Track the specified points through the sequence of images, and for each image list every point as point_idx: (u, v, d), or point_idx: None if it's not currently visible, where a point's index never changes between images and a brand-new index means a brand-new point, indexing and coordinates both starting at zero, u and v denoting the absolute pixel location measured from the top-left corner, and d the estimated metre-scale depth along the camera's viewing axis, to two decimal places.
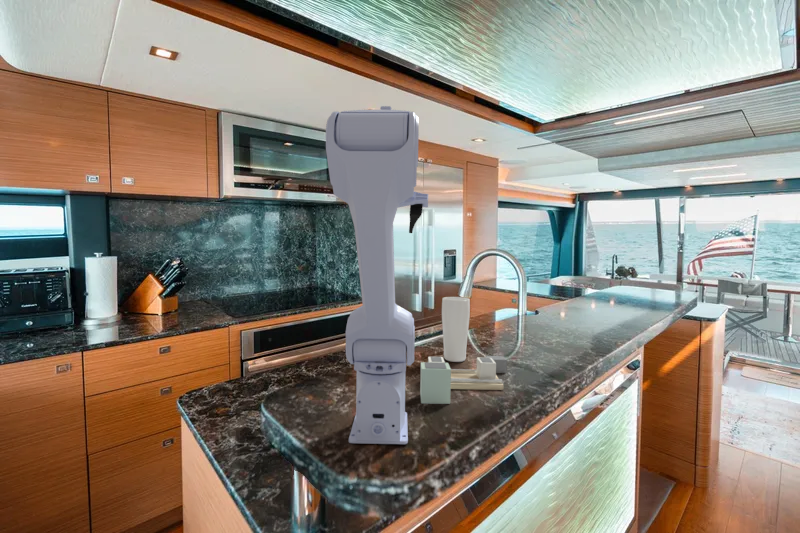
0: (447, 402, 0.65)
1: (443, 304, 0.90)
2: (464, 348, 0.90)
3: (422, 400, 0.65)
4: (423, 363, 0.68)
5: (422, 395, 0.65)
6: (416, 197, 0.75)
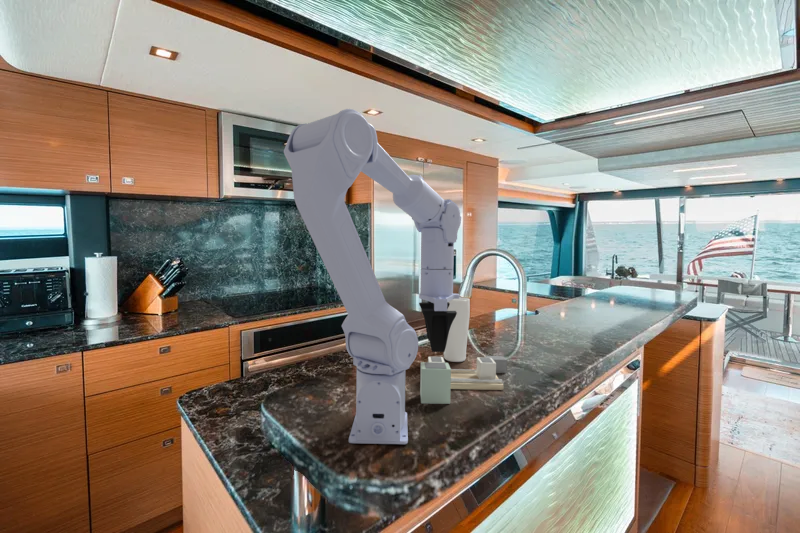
0: (447, 402, 0.65)
1: None
2: (464, 348, 0.90)
3: (422, 400, 0.65)
4: (423, 363, 0.68)
5: (422, 395, 0.65)
6: (438, 297, 0.61)
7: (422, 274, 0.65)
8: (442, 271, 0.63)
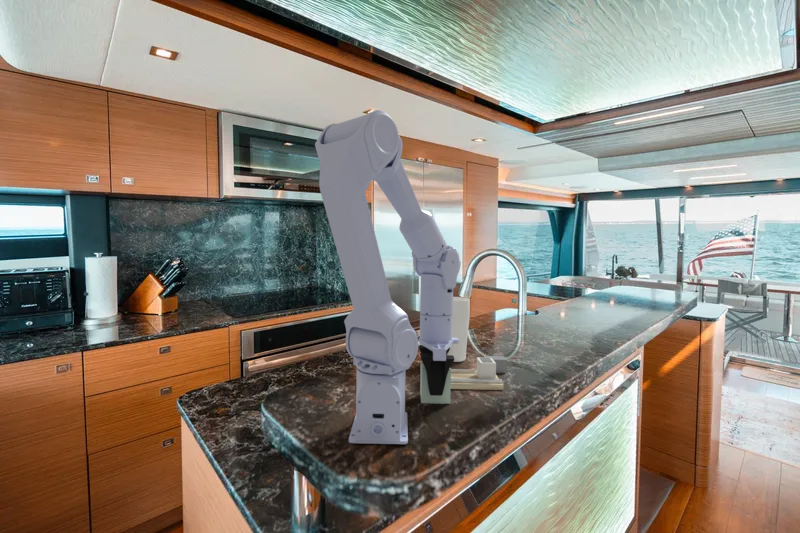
0: (447, 402, 0.65)
1: None
2: (464, 348, 0.90)
3: (422, 400, 0.65)
4: None
5: (422, 395, 0.65)
6: (437, 345, 0.61)
7: (421, 319, 0.65)
8: (441, 318, 0.63)
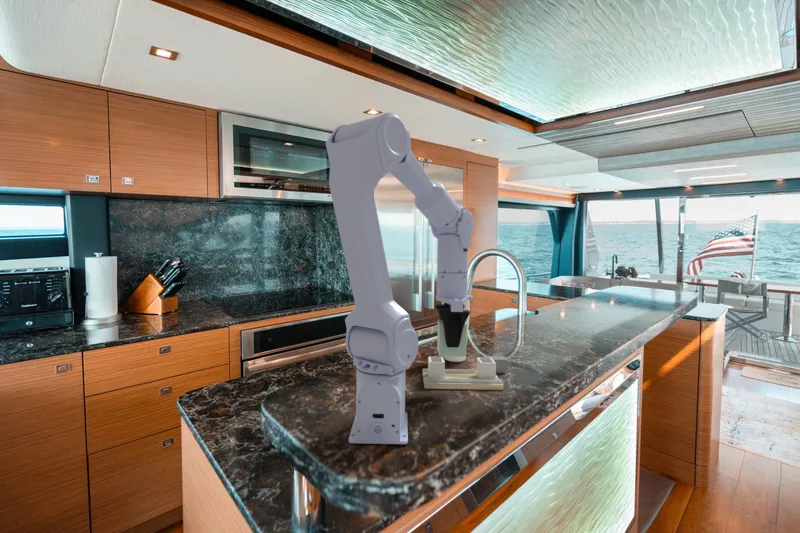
0: (463, 355, 0.69)
1: None
2: None
3: (440, 353, 0.69)
4: (440, 320, 0.72)
5: (440, 348, 0.69)
6: (454, 299, 0.66)
7: (438, 277, 0.70)
8: (457, 275, 0.68)
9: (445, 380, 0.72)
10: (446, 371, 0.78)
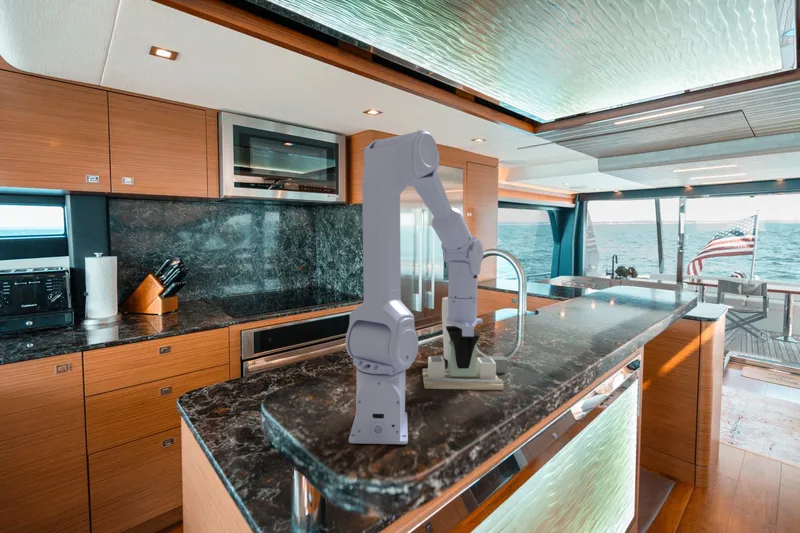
0: (473, 375, 0.74)
1: (443, 304, 0.90)
2: None
3: (451, 373, 0.74)
4: (451, 342, 0.77)
5: (451, 369, 0.74)
6: (465, 324, 0.70)
7: (450, 302, 0.74)
8: (468, 300, 0.72)
9: (445, 380, 0.72)
10: (446, 371, 0.78)
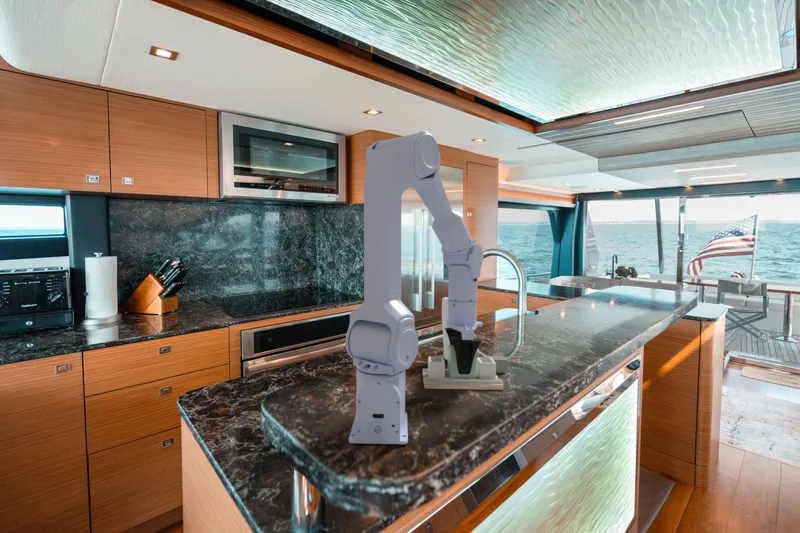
0: None
1: (443, 304, 0.90)
2: None
3: (451, 377, 0.74)
4: (450, 345, 0.77)
5: (451, 373, 0.74)
6: (465, 327, 0.70)
7: (450, 305, 0.74)
8: (468, 303, 0.72)
9: (445, 380, 0.72)
10: (446, 371, 0.78)
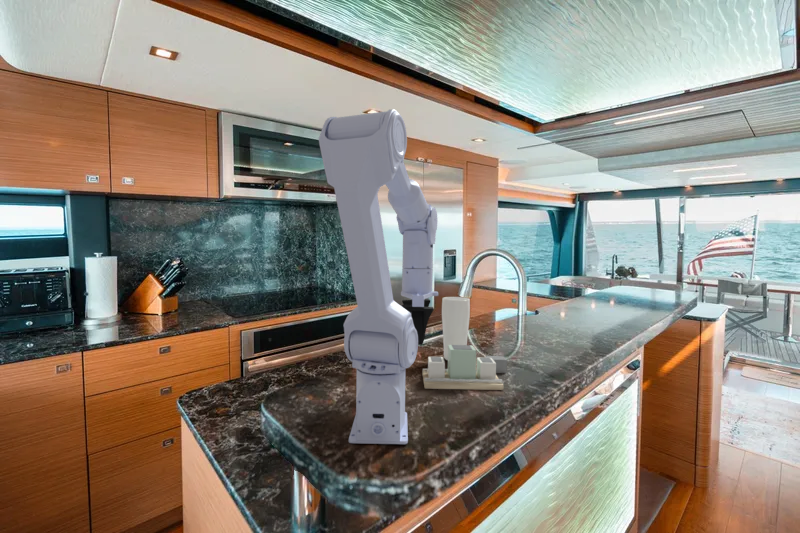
0: None
1: (443, 304, 0.90)
2: None
3: (451, 377, 0.74)
4: (450, 345, 0.77)
5: (451, 373, 0.74)
6: (416, 294, 0.66)
7: (403, 273, 0.70)
8: (421, 270, 0.68)
9: (445, 380, 0.72)
10: (446, 371, 0.78)
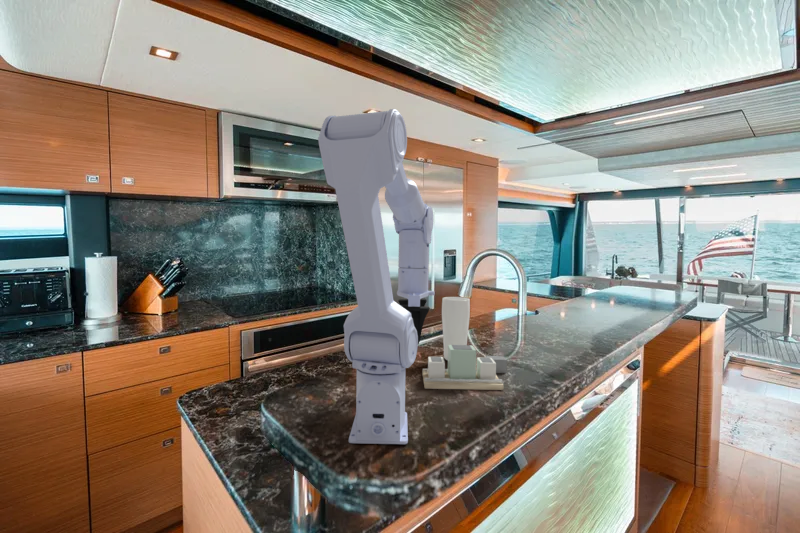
0: None
1: (443, 304, 0.90)
2: None
3: (451, 377, 0.74)
4: (450, 345, 0.77)
5: (451, 373, 0.74)
6: (412, 294, 0.66)
7: (399, 272, 0.70)
8: (417, 270, 0.68)
9: (445, 380, 0.72)
10: (446, 371, 0.78)
